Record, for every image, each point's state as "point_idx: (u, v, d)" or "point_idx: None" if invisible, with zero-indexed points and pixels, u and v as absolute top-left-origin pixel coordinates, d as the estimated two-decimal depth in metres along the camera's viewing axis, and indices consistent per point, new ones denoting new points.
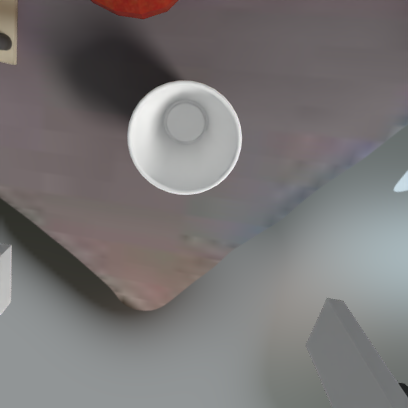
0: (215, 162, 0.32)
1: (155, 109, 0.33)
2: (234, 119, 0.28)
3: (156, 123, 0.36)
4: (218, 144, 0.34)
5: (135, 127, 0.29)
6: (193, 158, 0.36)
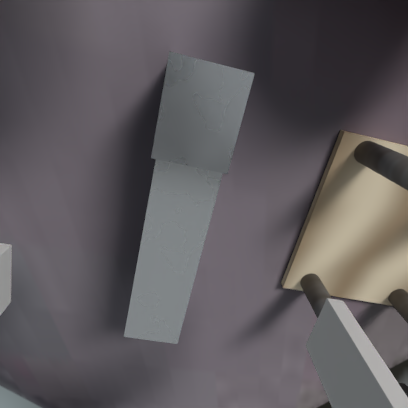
0: None
1: None
2: None
3: None
4: None
5: None
6: None
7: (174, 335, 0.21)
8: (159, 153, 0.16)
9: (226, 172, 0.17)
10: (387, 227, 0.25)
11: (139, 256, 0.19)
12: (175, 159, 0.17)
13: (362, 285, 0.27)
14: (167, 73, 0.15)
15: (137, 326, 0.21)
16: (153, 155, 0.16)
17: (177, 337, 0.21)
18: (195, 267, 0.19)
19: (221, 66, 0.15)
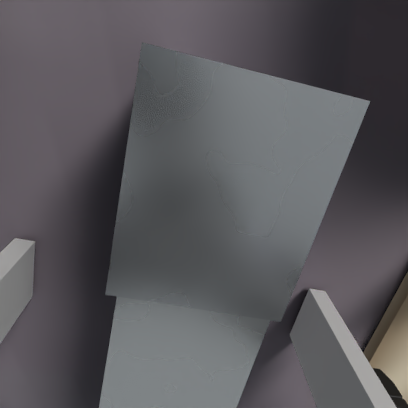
0: None
1: None
2: None
3: None
4: None
5: None
6: None
7: None
8: (125, 284, 0.07)
9: (278, 318, 0.07)
10: None
11: None
12: (163, 296, 0.07)
13: None
14: (138, 102, 0.06)
15: None
16: (111, 289, 0.07)
17: None
18: None
19: (283, 84, 0.06)
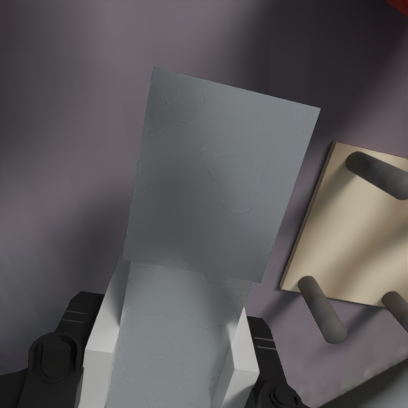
0: None
1: None
2: None
3: None
4: None
5: None
6: None
7: None
8: (138, 251, 0.09)
9: (259, 280, 0.09)
10: (379, 232, 0.27)
11: (107, 407, 0.11)
12: (167, 261, 0.09)
13: (357, 287, 0.28)
14: (149, 109, 0.08)
15: None
16: (126, 254, 0.09)
17: None
18: None
19: (256, 96, 0.08)
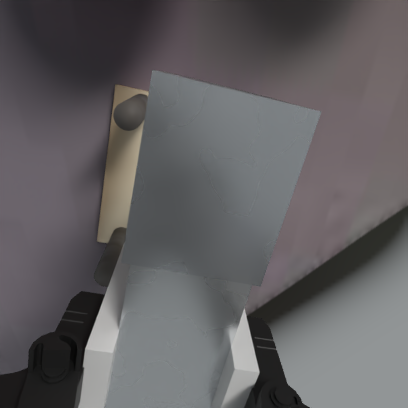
0: None
1: None
2: None
3: None
4: None
5: None
6: None
7: None
8: (137, 254, 0.09)
9: (258, 283, 0.09)
10: None
11: None
12: (167, 264, 0.09)
13: None
14: (149, 113, 0.07)
15: None
16: (125, 258, 0.09)
17: None
18: None
19: (256, 99, 0.07)
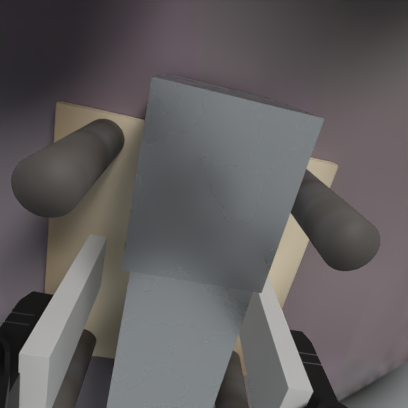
0: None
1: None
2: None
3: None
4: None
5: None
6: None
7: None
8: (137, 262, 0.09)
9: (260, 290, 0.09)
10: None
11: None
12: (167, 271, 0.09)
13: None
14: (148, 120, 0.07)
15: None
16: (125, 265, 0.09)
17: None
18: None
19: (258, 105, 0.07)
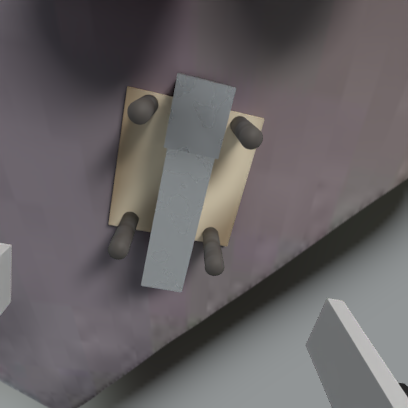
0: None
1: None
2: None
3: None
4: None
5: None
6: None
7: (179, 285, 0.28)
8: (170, 143, 0.23)
9: (217, 157, 0.24)
10: None
11: (154, 221, 0.25)
12: (181, 148, 0.23)
13: None
14: (176, 88, 0.22)
15: (151, 276, 0.27)
16: (165, 145, 0.23)
17: (181, 286, 0.28)
18: (195, 230, 0.26)
19: (213, 83, 0.22)
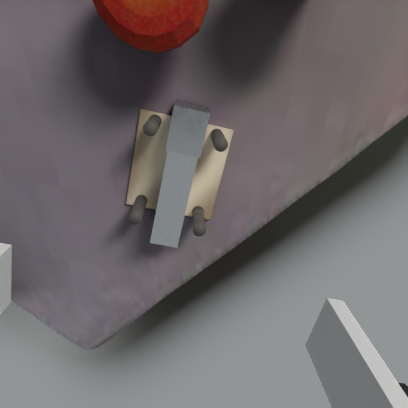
0: None
1: None
2: None
3: None
4: None
5: None
6: None
7: (175, 242, 0.41)
8: (169, 148, 0.36)
9: (199, 157, 0.37)
10: None
11: (159, 198, 0.39)
12: (176, 151, 0.37)
13: None
14: (173, 114, 0.35)
15: (157, 236, 0.41)
16: (166, 149, 0.37)
17: (177, 244, 0.41)
18: (186, 204, 0.39)
19: (196, 111, 0.35)
